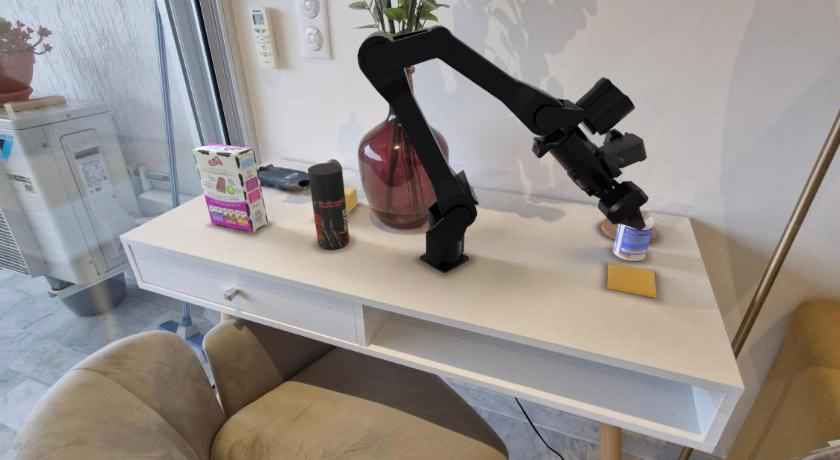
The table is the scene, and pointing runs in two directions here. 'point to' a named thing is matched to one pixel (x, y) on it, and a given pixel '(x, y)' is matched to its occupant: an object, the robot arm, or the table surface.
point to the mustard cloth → (631, 280)
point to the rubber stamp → (347, 193)
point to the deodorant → (329, 205)
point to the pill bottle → (634, 238)
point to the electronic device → (283, 178)
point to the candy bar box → (231, 186)
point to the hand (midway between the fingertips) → (629, 215)
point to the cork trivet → (612, 229)
